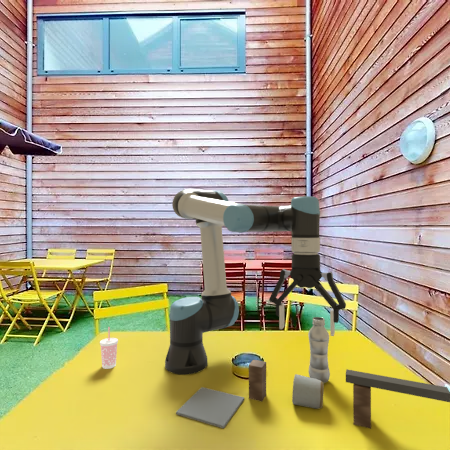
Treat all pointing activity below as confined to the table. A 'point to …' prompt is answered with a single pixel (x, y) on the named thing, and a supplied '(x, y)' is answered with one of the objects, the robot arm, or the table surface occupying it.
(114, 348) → the beverage cup
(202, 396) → the mat
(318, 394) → the ceramic mug
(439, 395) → the dark grey bar
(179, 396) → the table surface
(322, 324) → the plastic bottle
